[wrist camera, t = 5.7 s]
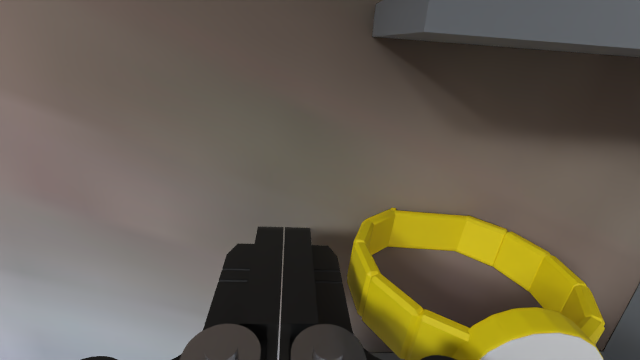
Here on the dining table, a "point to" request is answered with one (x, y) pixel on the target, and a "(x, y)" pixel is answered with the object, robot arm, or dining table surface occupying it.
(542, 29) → the box
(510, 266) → the watch
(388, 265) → the dining table surface
